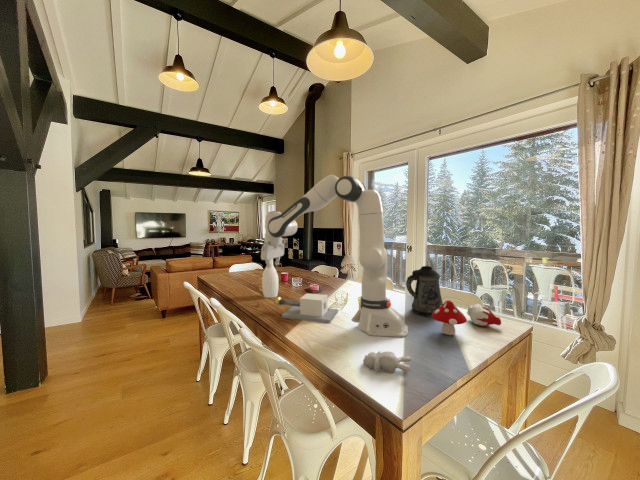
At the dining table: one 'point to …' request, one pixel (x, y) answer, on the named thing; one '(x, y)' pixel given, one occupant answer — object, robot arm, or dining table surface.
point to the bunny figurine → (386, 362)
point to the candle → (482, 315)
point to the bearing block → (312, 309)
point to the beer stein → (425, 291)
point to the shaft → (286, 302)
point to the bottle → (270, 281)
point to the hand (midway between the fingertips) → (272, 266)
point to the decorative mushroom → (449, 317)
